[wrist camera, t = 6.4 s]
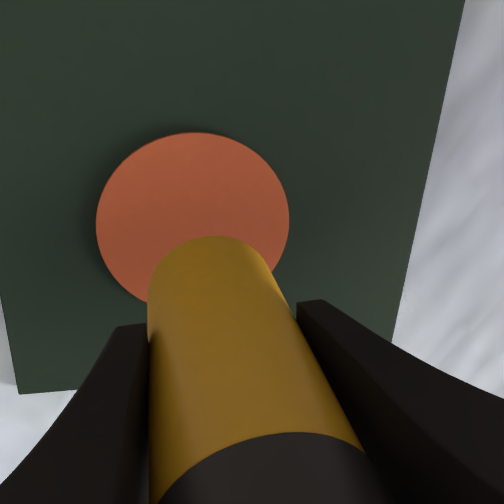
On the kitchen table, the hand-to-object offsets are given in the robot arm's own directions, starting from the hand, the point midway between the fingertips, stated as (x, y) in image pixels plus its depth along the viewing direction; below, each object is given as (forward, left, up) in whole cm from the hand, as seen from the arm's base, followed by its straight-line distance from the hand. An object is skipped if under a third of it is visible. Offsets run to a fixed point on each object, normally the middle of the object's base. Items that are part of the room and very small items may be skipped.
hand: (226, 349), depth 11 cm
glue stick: (0, 0, -3) cm, 3 cm away
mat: (-1, -1, -8) cm, 8 cm away
